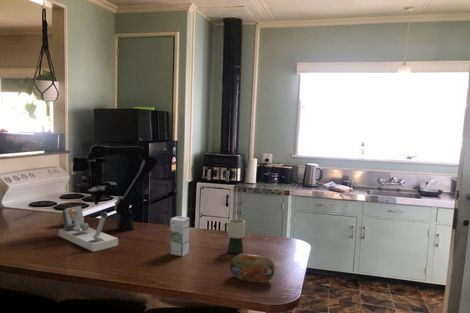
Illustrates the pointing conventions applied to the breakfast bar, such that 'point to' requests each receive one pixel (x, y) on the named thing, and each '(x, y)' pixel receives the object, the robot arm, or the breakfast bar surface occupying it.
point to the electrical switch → (77, 212)
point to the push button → (84, 226)
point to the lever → (100, 226)
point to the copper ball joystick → (75, 220)
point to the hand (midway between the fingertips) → (96, 204)
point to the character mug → (236, 235)
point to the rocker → (69, 226)
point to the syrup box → (179, 236)
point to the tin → (252, 268)
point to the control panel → (88, 238)
